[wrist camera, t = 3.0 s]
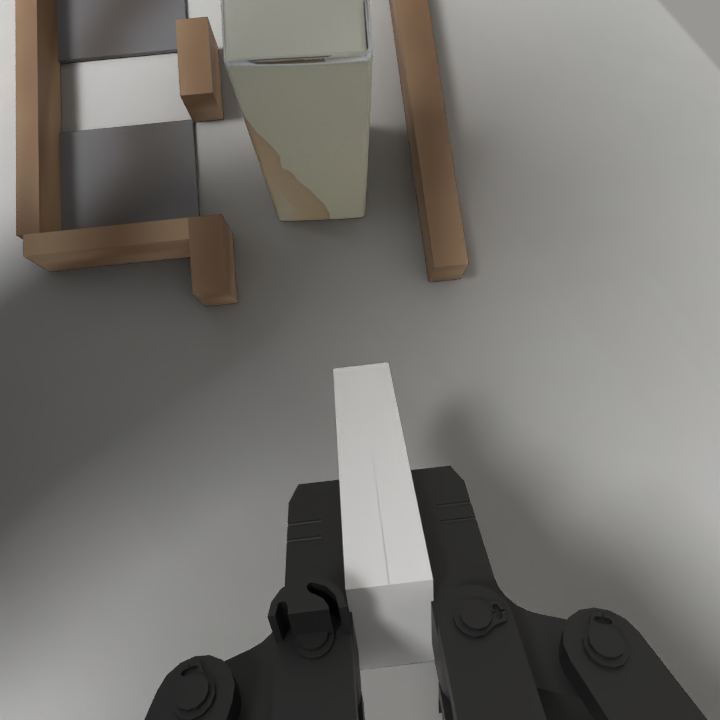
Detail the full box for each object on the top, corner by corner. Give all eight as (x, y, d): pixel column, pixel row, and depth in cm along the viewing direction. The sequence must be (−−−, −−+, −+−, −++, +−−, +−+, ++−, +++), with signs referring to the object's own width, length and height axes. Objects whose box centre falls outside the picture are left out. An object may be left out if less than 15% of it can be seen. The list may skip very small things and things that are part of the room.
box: (274, 128, 27) (217, -97, 16) (361, 123, 27) (363, -103, 16) (278, 227, 26) (219, 63, 15) (368, 223, 26) (374, 55, 15)
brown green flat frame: (43, 323, 25) (-16, 299, 21) (38, -108, 29) (-13, -196, 25) (475, 277, 25) (497, 244, 22) (410, -141, 30) (418, -233, 26)
